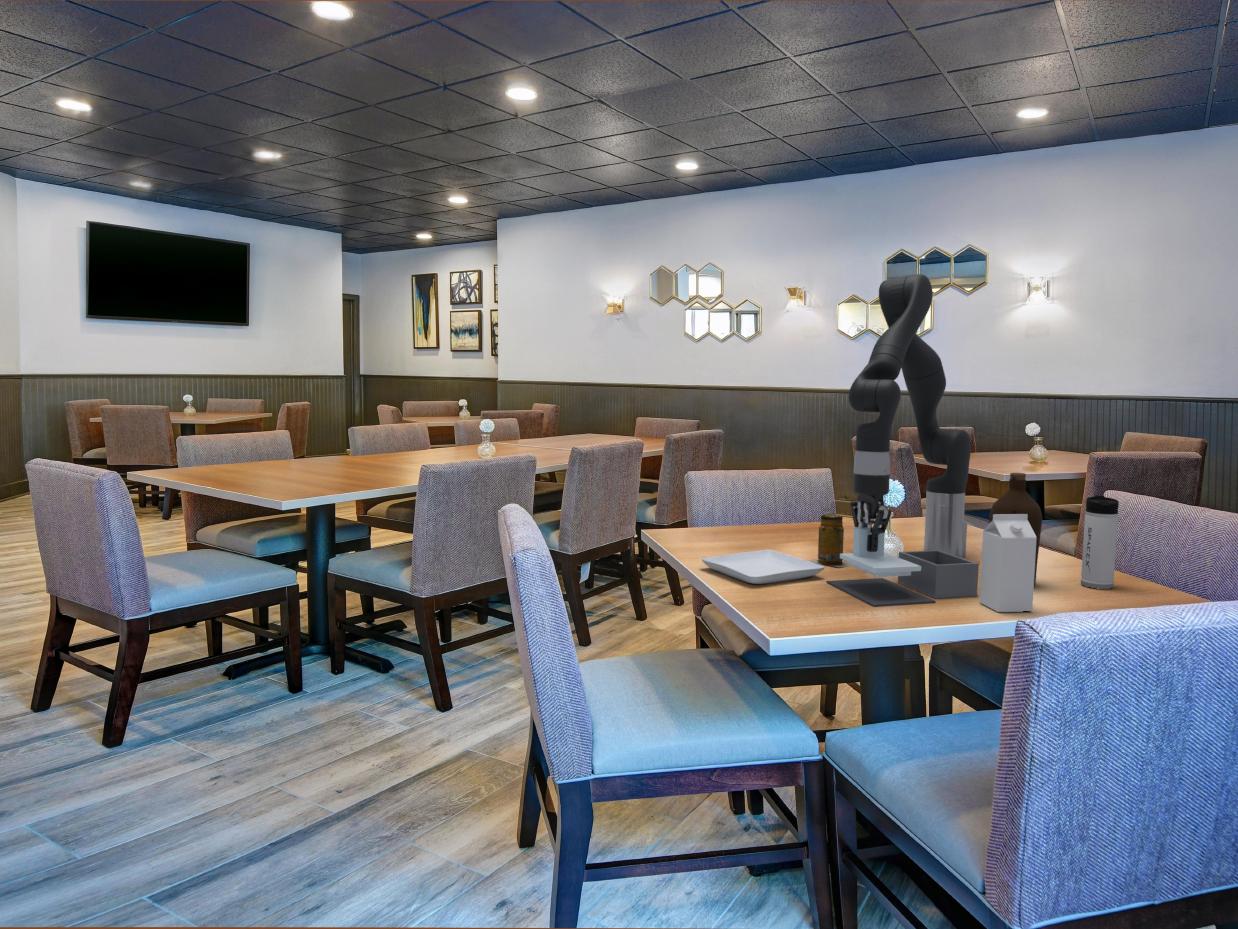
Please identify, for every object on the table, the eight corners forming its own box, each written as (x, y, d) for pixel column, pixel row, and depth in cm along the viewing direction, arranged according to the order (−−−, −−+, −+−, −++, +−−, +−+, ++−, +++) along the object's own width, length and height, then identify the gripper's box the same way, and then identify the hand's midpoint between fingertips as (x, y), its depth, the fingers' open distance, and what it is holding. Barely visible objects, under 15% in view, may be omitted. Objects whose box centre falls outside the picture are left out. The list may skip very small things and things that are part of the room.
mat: (882, 579, 186) (882, 577, 186) (935, 602, 166) (935, 600, 166) (826, 582, 182) (826, 580, 182) (873, 606, 163) (873, 604, 163)
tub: (897, 582, 183) (899, 551, 182) (936, 580, 185) (938, 550, 185) (935, 598, 170) (936, 565, 169) (977, 595, 172) (978, 563, 171)
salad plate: (752, 590, 176) (752, 575, 176) (698, 570, 195) (698, 556, 195) (827, 580, 186) (827, 565, 186) (769, 562, 205) (769, 548, 205)
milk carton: (978, 603, 166) (983, 511, 164) (1012, 602, 167) (1017, 511, 165) (997, 613, 159) (1003, 517, 157) (1032, 612, 160) (1038, 517, 158)
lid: (839, 563, 180) (841, 526, 179) (882, 561, 182) (884, 525, 181) (874, 578, 166) (876, 539, 165) (920, 576, 168) (922, 537, 167)
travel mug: (1108, 583, 183) (1114, 496, 181) (1116, 590, 177) (1122, 500, 175) (1077, 581, 185) (1083, 494, 183) (1083, 588, 179) (1089, 498, 177)
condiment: (827, 558, 208) (829, 512, 207) (855, 564, 201) (857, 516, 200) (809, 562, 203) (811, 515, 202) (838, 568, 197) (839, 519, 196)
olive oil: (1047, 589, 178) (1054, 476, 175) (999, 589, 178) (1005, 475, 175) (1023, 578, 188) (1030, 470, 186) (978, 577, 188) (983, 470, 186)
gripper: (905, 475, 170) (901, 556, 172) (870, 468, 184) (867, 543, 186) (872, 475, 169) (869, 557, 170) (840, 468, 182) (837, 544, 184)
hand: (868, 549), depth 178 cm, fingers closed on lid, 2 cm apart
